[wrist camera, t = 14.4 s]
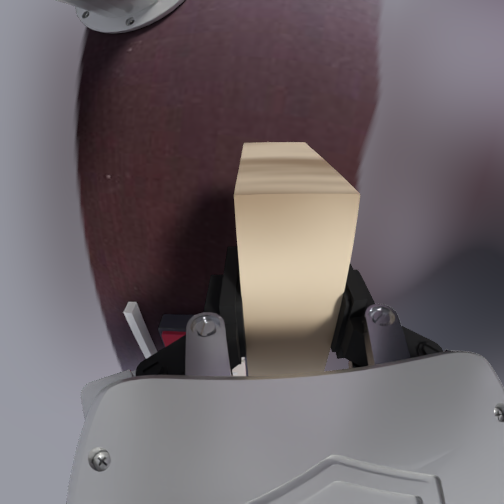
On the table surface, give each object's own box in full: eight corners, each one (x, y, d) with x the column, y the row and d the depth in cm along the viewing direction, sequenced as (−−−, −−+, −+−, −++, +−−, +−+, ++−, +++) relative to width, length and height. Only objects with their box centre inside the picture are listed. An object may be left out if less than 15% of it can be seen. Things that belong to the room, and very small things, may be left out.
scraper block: (243, 143, 15) (234, 195, 7) (304, 142, 15) (360, 194, 7) (251, 293, 21) (250, 399, 13) (297, 291, 21) (315, 396, 13)
